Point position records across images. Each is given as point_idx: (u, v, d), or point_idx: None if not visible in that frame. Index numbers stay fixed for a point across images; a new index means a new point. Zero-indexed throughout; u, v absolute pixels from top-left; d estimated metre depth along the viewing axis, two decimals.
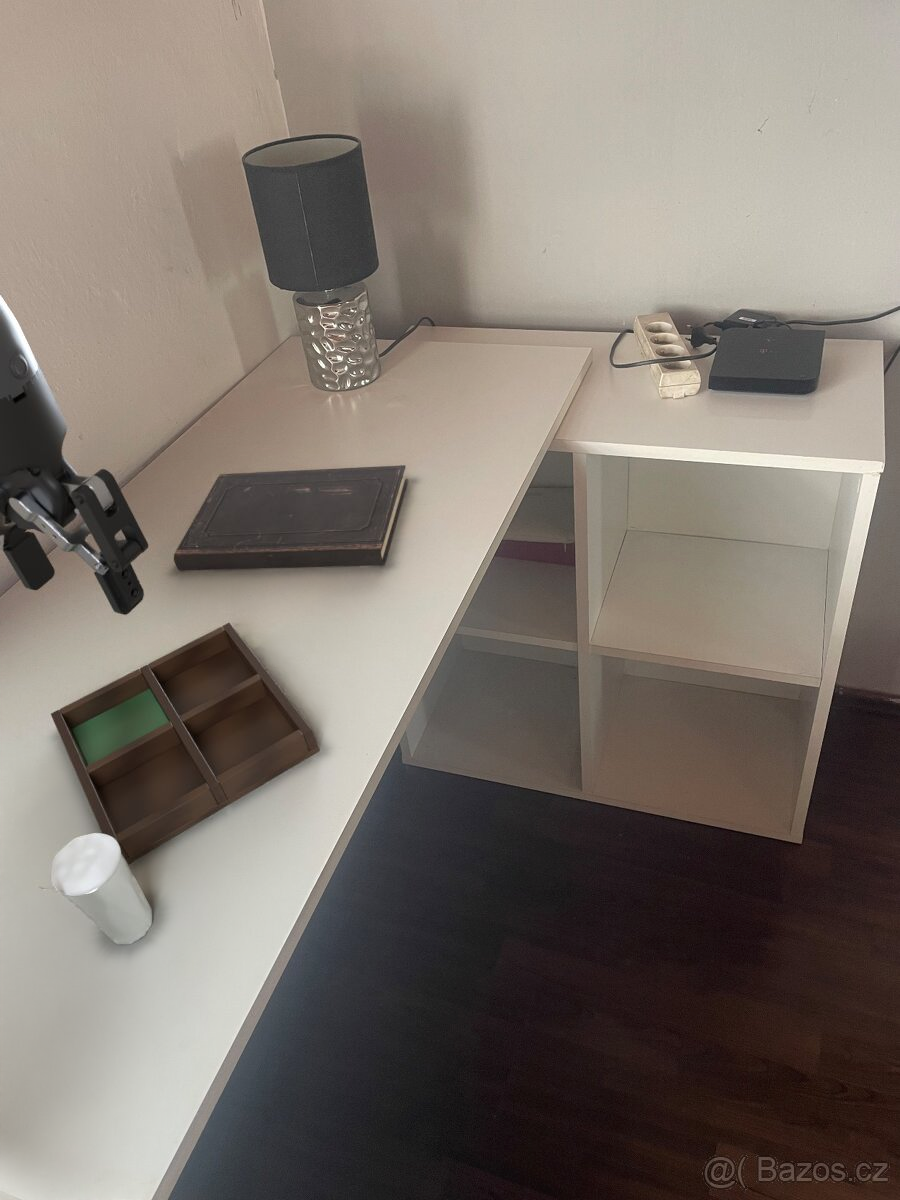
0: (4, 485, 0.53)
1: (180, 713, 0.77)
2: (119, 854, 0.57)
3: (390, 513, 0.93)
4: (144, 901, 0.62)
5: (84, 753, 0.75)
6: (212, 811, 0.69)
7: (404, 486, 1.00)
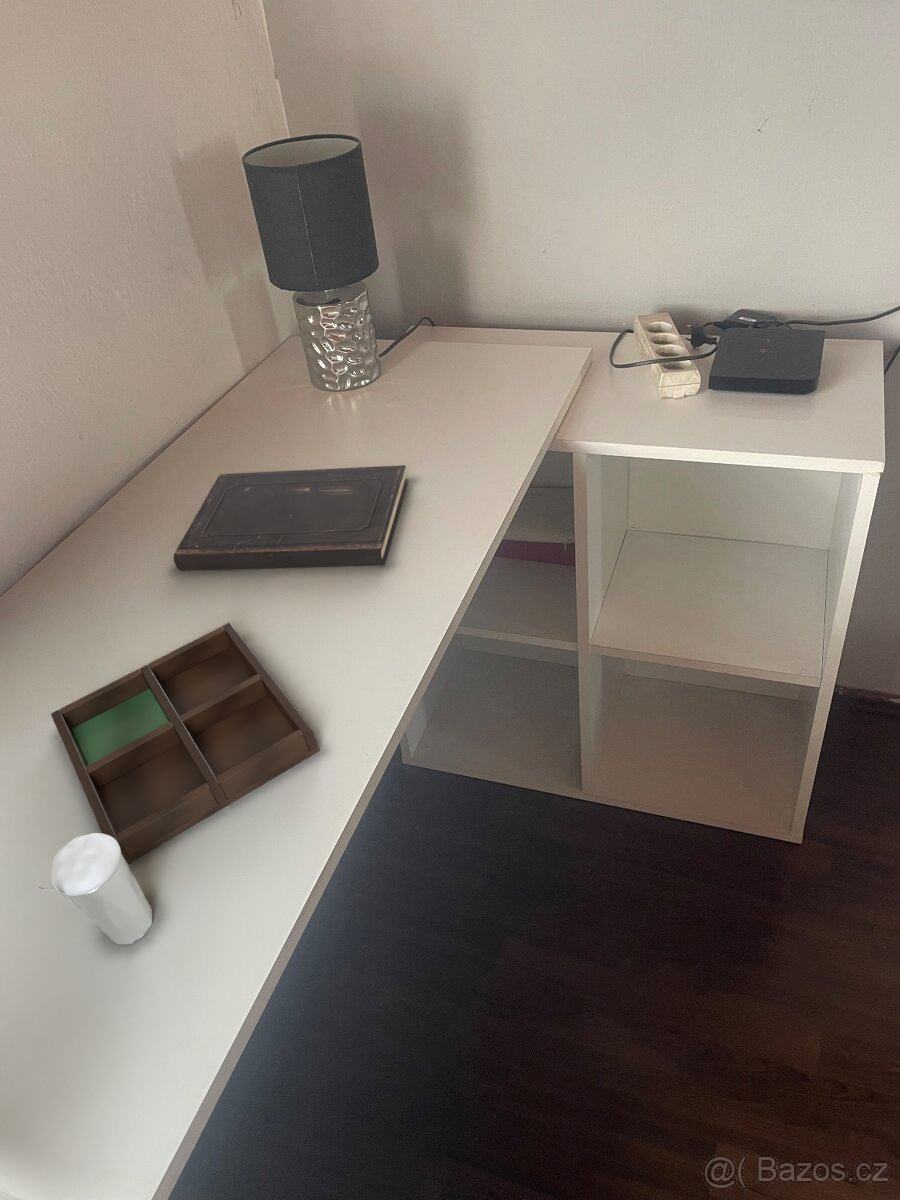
0: None
1: (180, 713, 0.77)
2: (119, 854, 0.57)
3: (390, 513, 0.93)
4: (144, 901, 0.62)
5: (84, 753, 0.75)
6: (212, 811, 0.69)
7: (404, 486, 1.00)
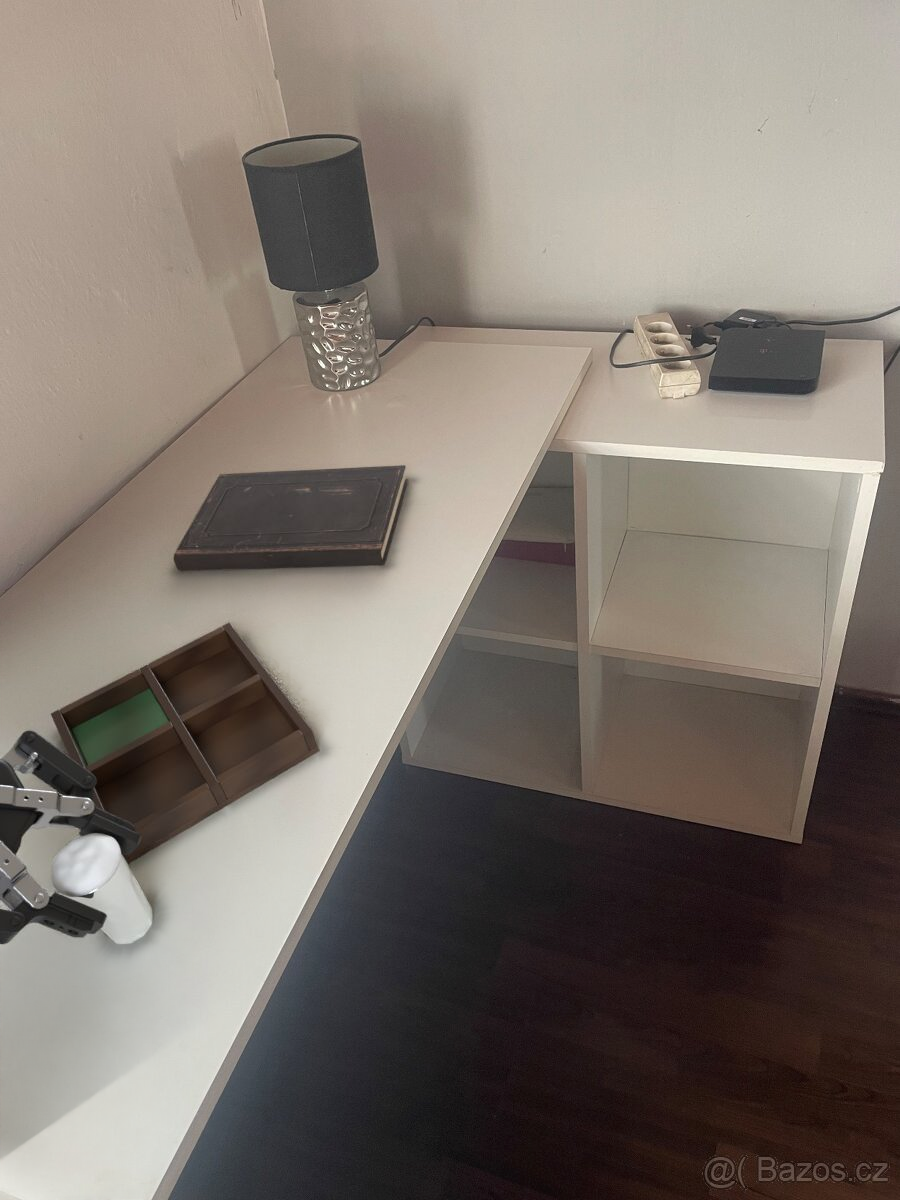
0: None
1: (180, 713, 0.77)
2: (119, 854, 0.57)
3: (390, 513, 0.93)
4: (144, 901, 0.62)
5: (84, 753, 0.75)
6: (212, 811, 0.69)
7: (404, 486, 1.00)
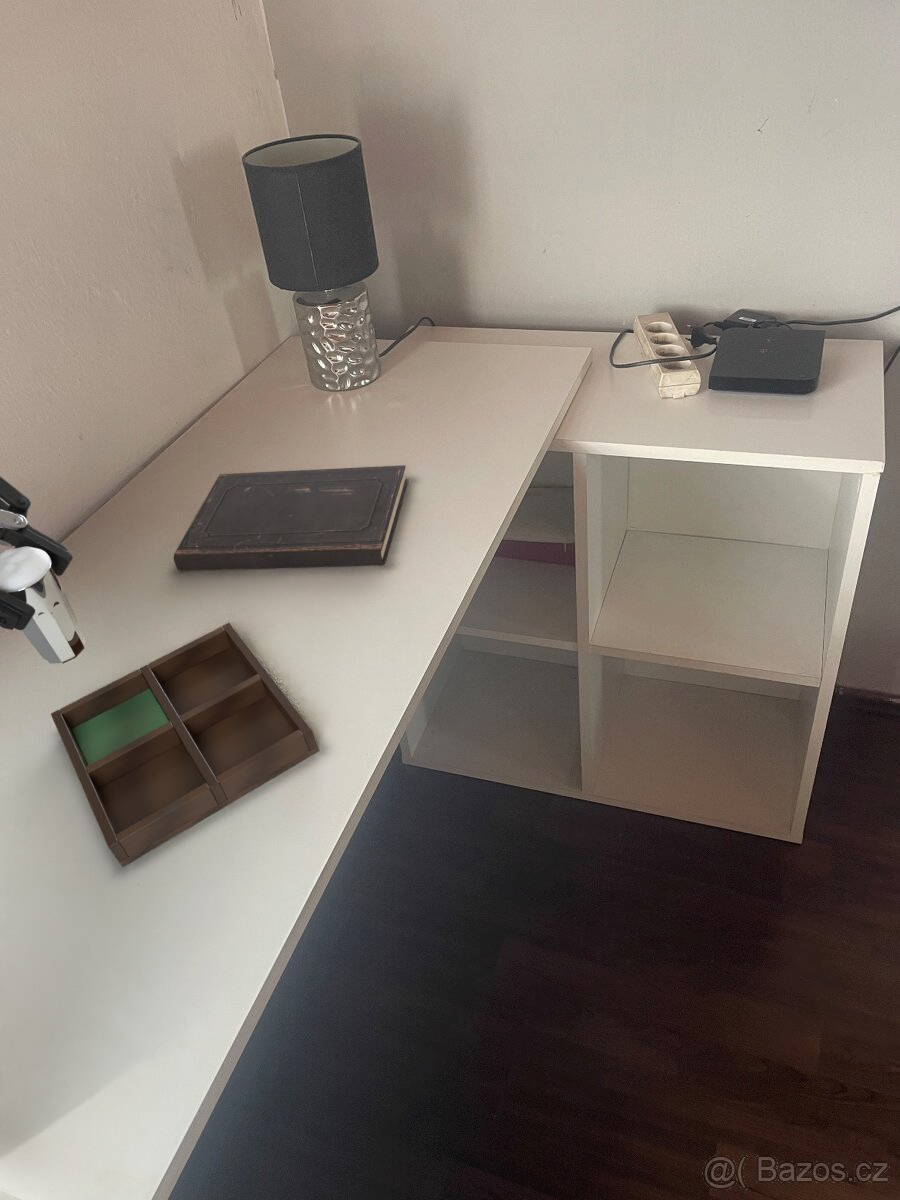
0: None
1: (180, 713, 0.77)
2: (49, 562, 0.61)
3: (390, 513, 0.93)
4: (76, 624, 0.66)
5: (84, 753, 0.75)
6: (212, 811, 0.69)
7: (404, 486, 1.00)
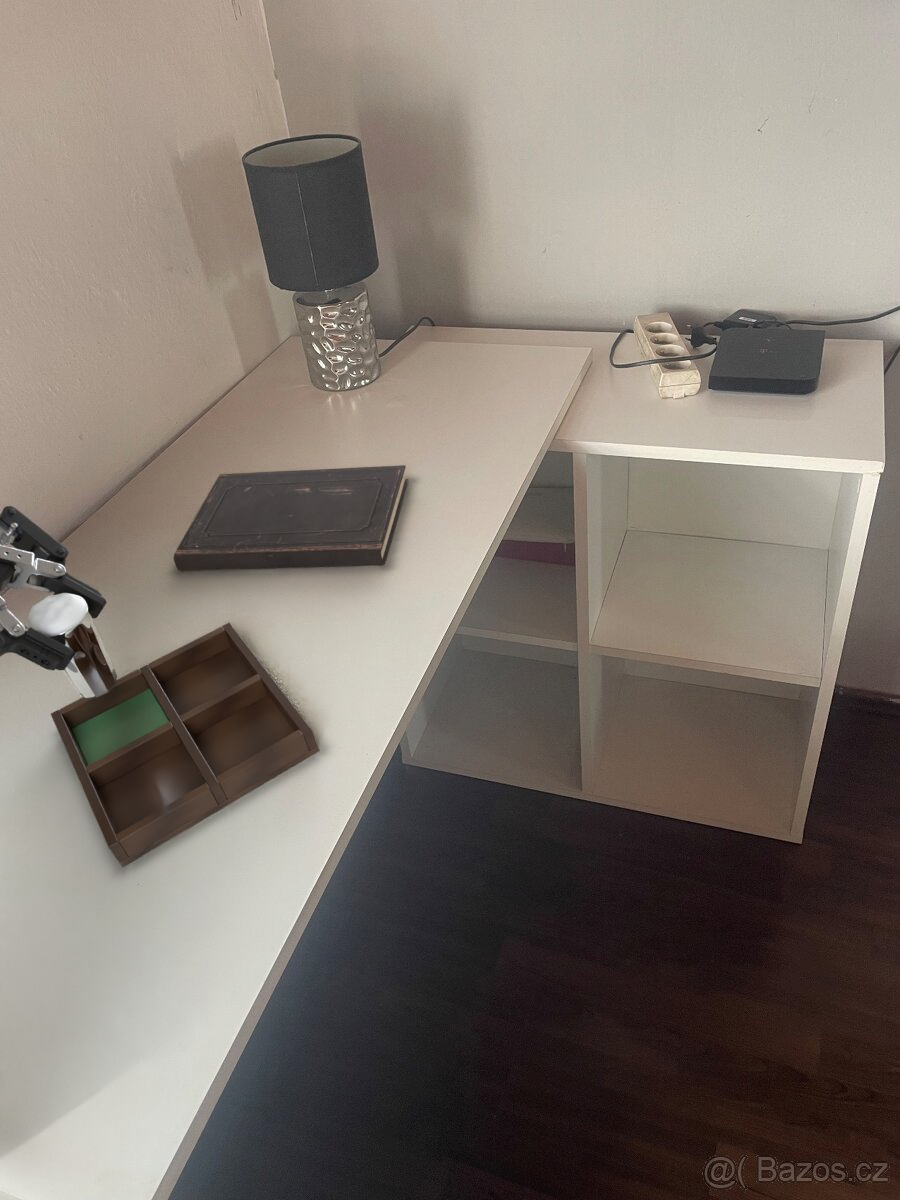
0: None
1: (180, 713, 0.77)
2: (86, 607, 0.67)
3: (390, 513, 0.93)
4: (109, 662, 0.72)
5: (84, 753, 0.75)
6: (212, 811, 0.69)
7: (404, 486, 1.00)
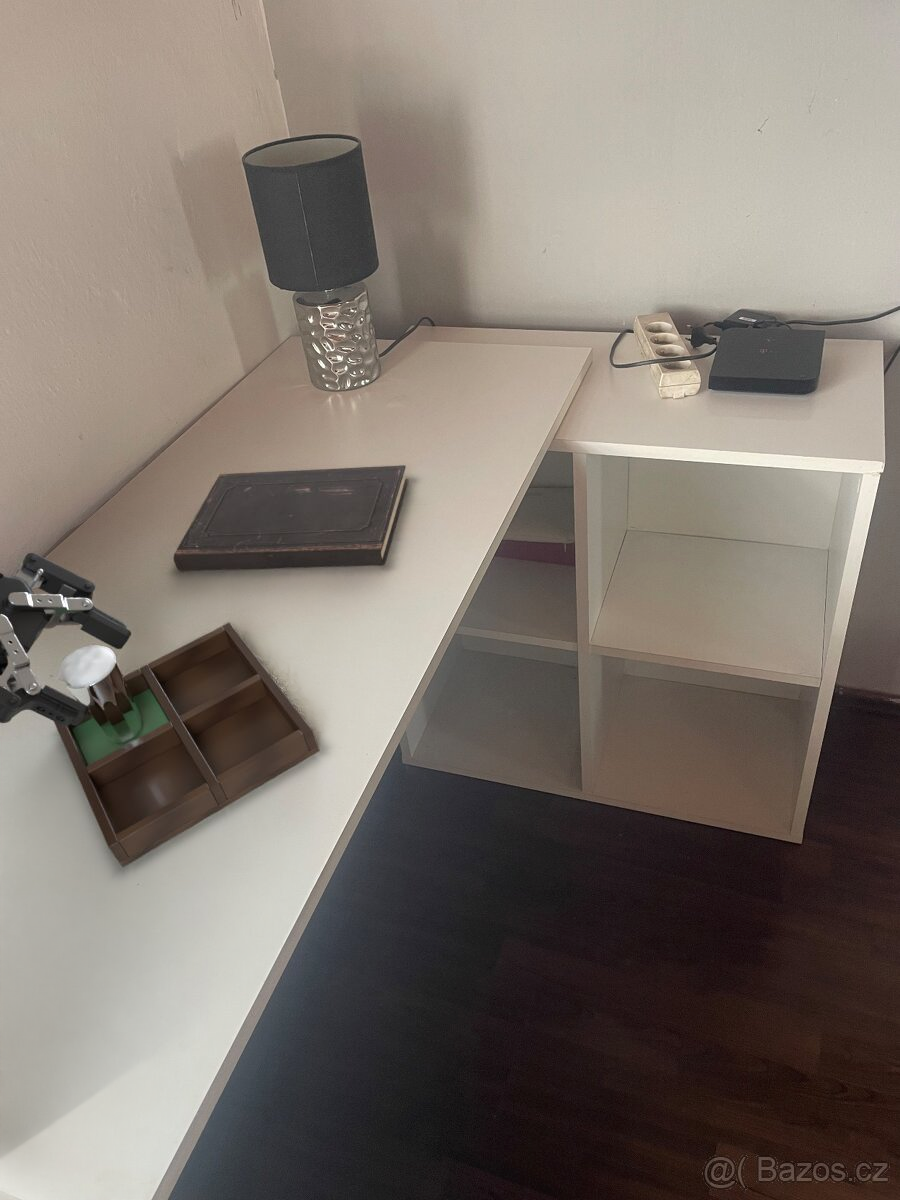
0: None
1: (180, 713, 0.77)
2: (114, 659, 0.71)
3: (390, 513, 0.93)
4: (135, 708, 0.75)
5: (84, 753, 0.75)
6: (212, 811, 0.69)
7: (404, 486, 1.00)
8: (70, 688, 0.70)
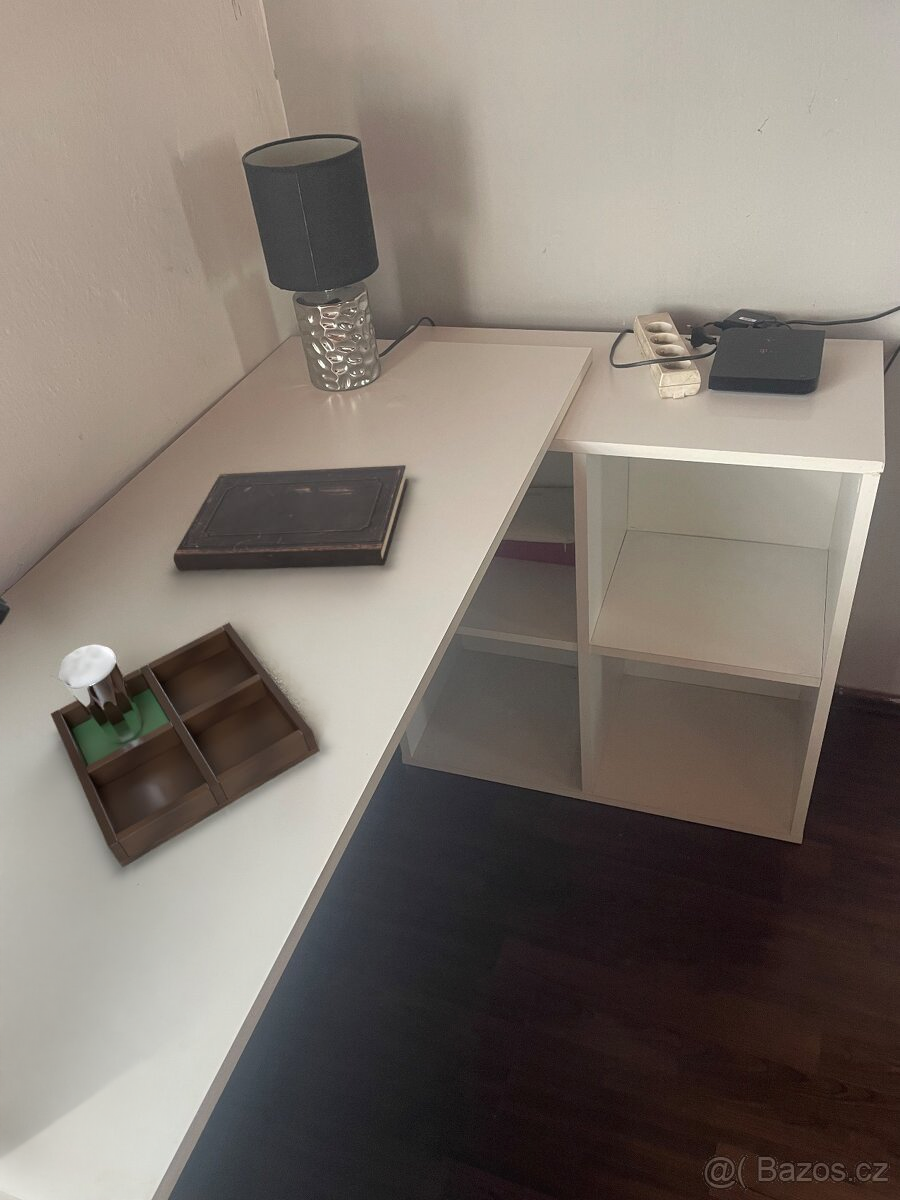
0: None
1: (180, 713, 0.77)
2: (114, 659, 0.71)
3: (390, 513, 0.93)
4: (135, 708, 0.75)
5: (84, 753, 0.75)
6: (212, 811, 0.69)
7: (404, 486, 1.00)
8: (70, 688, 0.70)
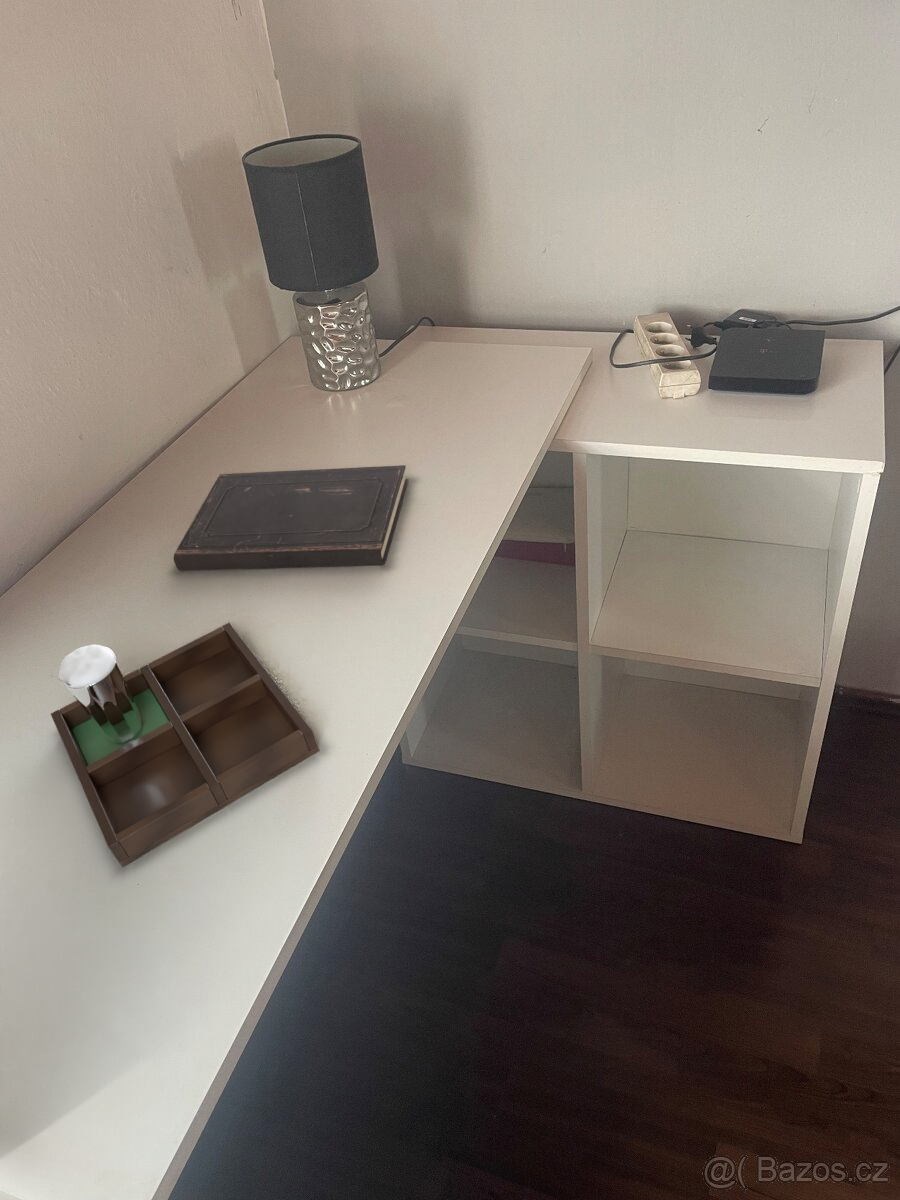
0: None
1: (180, 713, 0.77)
2: (114, 659, 0.71)
3: (390, 513, 0.93)
4: (135, 708, 0.75)
5: (84, 753, 0.75)
6: (212, 811, 0.69)
7: (404, 486, 1.00)
8: (70, 688, 0.70)
